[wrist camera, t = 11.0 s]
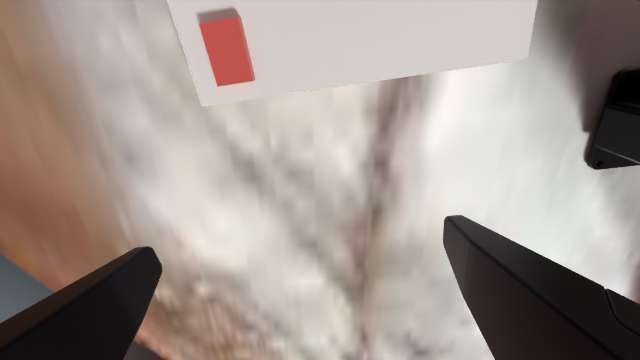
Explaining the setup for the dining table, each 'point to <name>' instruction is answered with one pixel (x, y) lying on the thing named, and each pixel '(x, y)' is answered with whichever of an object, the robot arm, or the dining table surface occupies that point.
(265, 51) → the socket plate
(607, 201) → the dining table surface
